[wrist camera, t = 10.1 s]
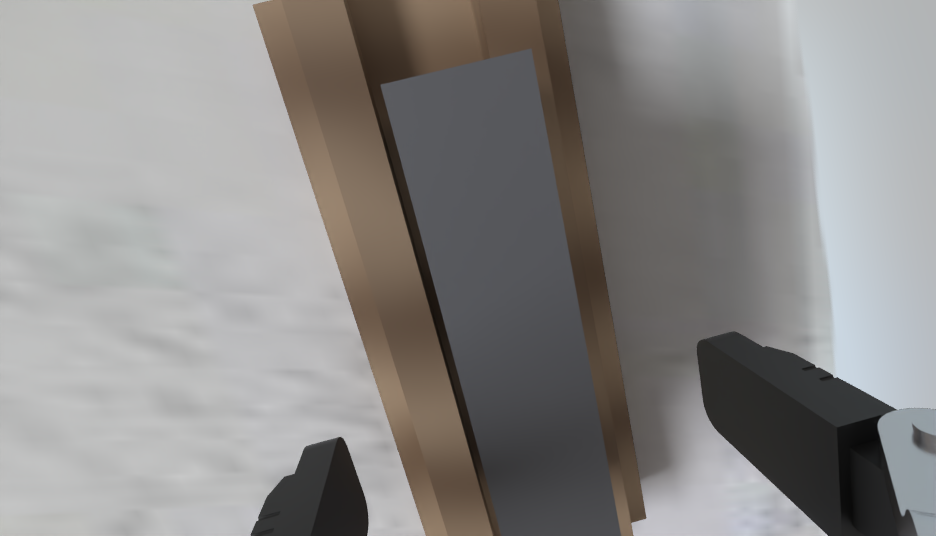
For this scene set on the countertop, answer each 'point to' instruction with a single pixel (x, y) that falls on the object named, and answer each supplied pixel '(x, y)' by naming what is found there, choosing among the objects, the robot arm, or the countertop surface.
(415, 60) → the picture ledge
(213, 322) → the countertop surface
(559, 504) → the grey photo frame
